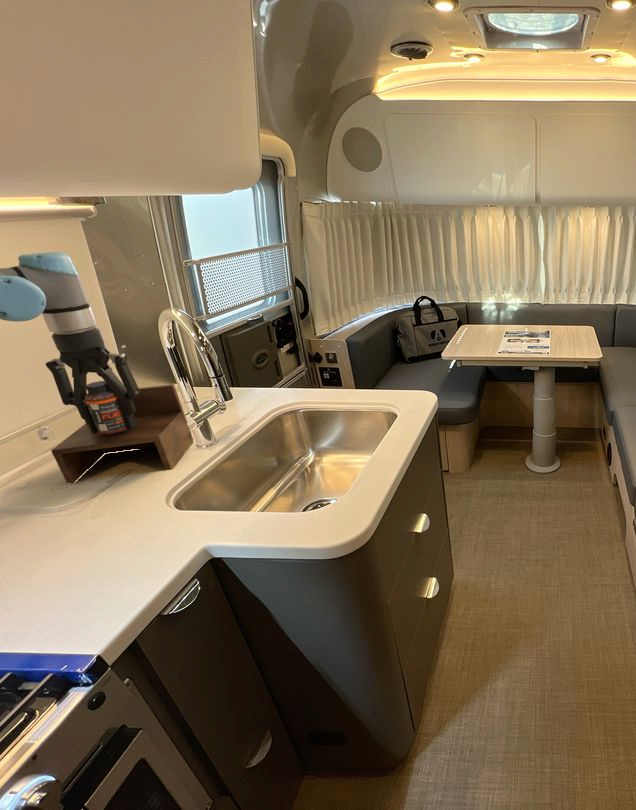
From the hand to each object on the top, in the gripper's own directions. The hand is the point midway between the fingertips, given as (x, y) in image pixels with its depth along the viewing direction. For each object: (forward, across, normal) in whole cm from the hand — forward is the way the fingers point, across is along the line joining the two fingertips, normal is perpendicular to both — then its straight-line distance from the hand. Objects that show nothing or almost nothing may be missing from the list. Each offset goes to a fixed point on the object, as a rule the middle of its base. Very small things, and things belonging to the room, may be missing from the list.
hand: (115, 428), depth 110 cm
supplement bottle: (0, 0, 0) cm, 1 cm away
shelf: (+10, 0, -2) cm, 10 cm away
